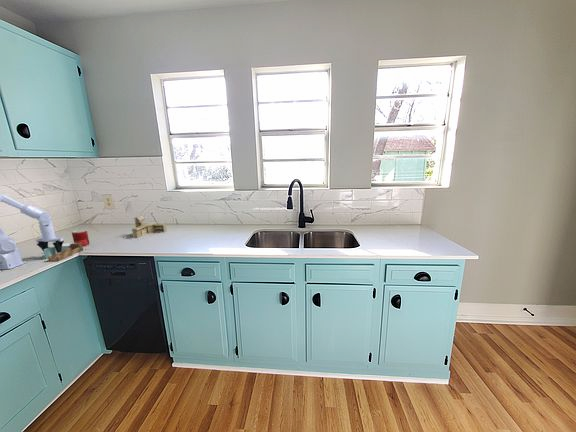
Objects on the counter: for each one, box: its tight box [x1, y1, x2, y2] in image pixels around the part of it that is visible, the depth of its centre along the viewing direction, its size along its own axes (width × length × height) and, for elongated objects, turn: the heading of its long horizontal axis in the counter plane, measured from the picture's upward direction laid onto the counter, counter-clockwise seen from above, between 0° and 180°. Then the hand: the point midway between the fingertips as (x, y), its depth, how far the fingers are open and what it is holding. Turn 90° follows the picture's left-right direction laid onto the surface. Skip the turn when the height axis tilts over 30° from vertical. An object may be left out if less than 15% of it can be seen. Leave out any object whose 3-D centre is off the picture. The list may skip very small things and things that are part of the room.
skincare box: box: [48, 242, 73, 251], centre depth 160 cm, size 6×4×12 cm
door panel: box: [43, 245, 57, 260], centre depth 151 cm, size 8×2×6 cm, turn 3°
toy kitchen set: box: [131, 215, 168, 239], centre depth 191 cm, size 18×17×15 cm
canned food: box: [71, 228, 90, 248], centre depth 169 cm, size 8×8×11 cm
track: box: [47, 242, 84, 263], centre depth 151 cm, size 18×6×5 cm, turn 3°
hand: (53, 252), depth 151 cm, fingers open, 7 cm apart
